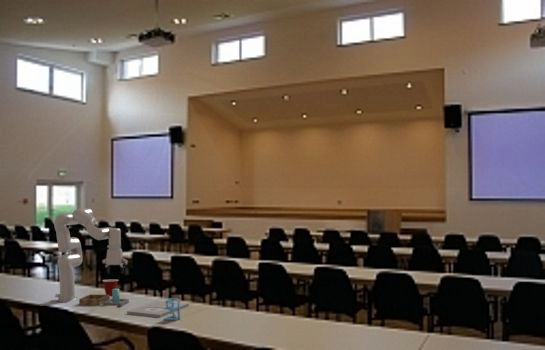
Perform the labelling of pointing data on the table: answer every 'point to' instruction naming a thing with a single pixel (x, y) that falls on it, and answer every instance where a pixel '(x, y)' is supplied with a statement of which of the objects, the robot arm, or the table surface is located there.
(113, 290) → the peg
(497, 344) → the table surface
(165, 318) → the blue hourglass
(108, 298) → the walnut box
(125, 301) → the tray
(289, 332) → the table surface
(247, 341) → the table surface
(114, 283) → the plastic cup
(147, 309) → the award plaque
